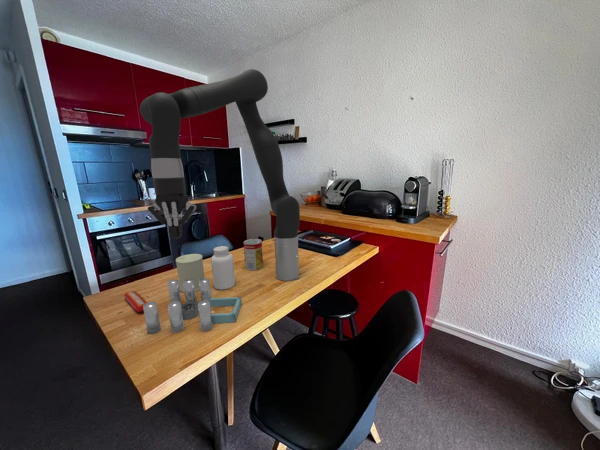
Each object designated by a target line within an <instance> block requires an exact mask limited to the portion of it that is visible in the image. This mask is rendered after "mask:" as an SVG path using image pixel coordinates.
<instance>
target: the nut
mask: <svg viewBox="0 0 600 450" xmlns="http://www.w3.org/2000/svg"><path fill="white" fill-rule="evenodd" d="M181 308H182V315H183V321H188V320H192V319H194V318H197V316H199V311H198V302H196V303H195V302H192V301H191V302H188V303H186V302H185V303H181Z"/></svg>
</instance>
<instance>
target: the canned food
mask: <svg viewBox="0 0 600 450" xmlns="http://www.w3.org/2000/svg"><path fill="white" fill-rule="evenodd" d="M243 250H244V251H243V252H244V266H245V267H244V268H245V269H246V270H248V271H259V270H261V269H263V268H262V267H264V261H263V259H264V257H263V256H264V255H263V242H262V239H258V238H250V239H246V240H244V241H243Z"/></svg>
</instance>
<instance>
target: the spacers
mask: <svg viewBox="0 0 600 450" xmlns="http://www.w3.org/2000/svg"><path fill="white" fill-rule="evenodd" d="M183 283H184V290H185V292H184V294H185V295H184V296H185V303H188V302H191V301H192V302H195V303H198V311H199V313H198V318H199V324H200V327H199V328H200V331H201V332H204V333H205V332H209V331H211V330H213V328H214V323H212V314H213V313H212V307H211V305H210V300H209V299H210V298H212V291H211V282H210V278H208V277H205V278H203V279H200V280H199V286H200V290H199V293H200V301H197V300H198V299H197V291H195V284H194V279H186V280H184V281H183ZM167 288H168V293H169V300H170V302H169V303H167V310H168V317H169V321H170V322H169V324H170V329H171V332H172V333H173V334H177V333H180V332H182V331H184V330H185V324H184V320H183V315H182V308H181V305H182V304H183V303H182V302H183V301H182V294H181V291H180V285H179V278H178V279H177V278H174V279H170V280H168V281H167ZM143 309H144V311H143V314H144V320H145V326H146V330H147V334H149V335H153V334H157V333H159V332H160V331H161V330H162V328H161V321H160V315H159V309H158V304H157V301H156V300H155V301H149V302H148V301H147V303H146V304H144V305H143Z"/></svg>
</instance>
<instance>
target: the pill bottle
mask: <svg viewBox="0 0 600 450" xmlns="http://www.w3.org/2000/svg"><path fill="white" fill-rule="evenodd" d="M210 263H211V271H212V272H211V273H212V280H213V281H212V283H213V288H215V290H228V289H231V288H232V287H234V286H235V284H236V275H235V261H234V256H233V254H232V253H230V249H229V246H227V245H221V246H217V247H214V248H213V255H212V256H211V259H210Z"/></svg>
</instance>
